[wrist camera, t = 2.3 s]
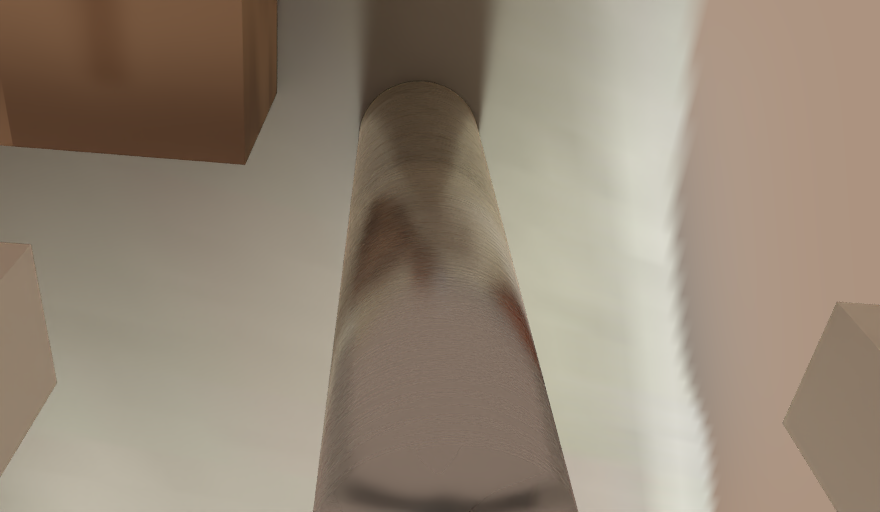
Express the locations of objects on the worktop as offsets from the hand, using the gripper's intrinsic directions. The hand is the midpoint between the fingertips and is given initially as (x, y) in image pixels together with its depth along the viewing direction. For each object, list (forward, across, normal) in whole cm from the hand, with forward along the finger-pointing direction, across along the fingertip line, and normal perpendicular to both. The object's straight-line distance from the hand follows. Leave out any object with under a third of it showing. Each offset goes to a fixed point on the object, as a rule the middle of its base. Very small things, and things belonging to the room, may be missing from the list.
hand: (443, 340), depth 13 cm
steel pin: (+10, 0, 0) cm, 10 cm away
